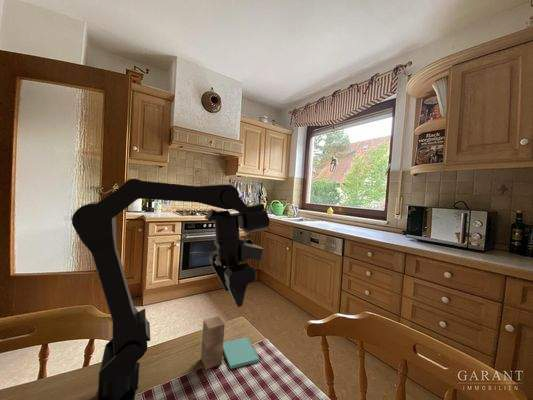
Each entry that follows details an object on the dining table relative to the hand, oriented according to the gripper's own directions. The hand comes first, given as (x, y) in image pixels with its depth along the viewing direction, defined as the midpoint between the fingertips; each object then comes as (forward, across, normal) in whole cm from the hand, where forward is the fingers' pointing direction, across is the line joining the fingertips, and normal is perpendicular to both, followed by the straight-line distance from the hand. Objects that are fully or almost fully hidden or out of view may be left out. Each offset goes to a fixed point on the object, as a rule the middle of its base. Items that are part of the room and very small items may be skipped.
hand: (233, 297), depth 58 cm
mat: (+17, +2, -1) cm, 17 cm away
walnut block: (+15, +2, +7) cm, 17 cm away
